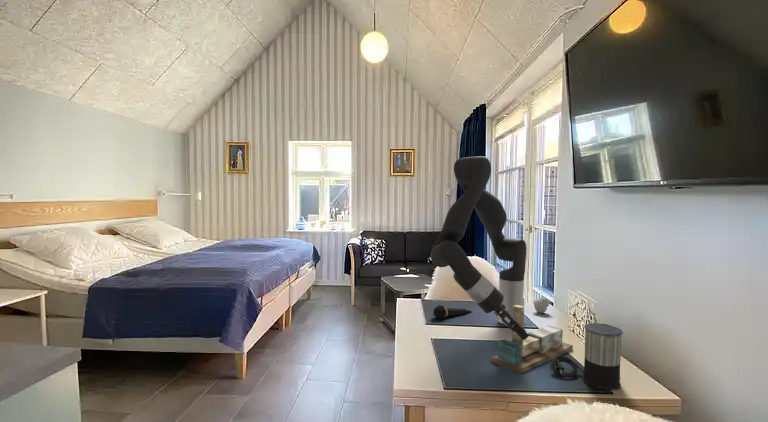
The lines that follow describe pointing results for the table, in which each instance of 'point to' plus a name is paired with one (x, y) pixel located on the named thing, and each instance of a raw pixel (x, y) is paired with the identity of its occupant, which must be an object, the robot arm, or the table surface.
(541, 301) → the frog figurine
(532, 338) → the cream l-shaped piece
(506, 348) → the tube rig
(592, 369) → the milk frother
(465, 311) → the microphone
